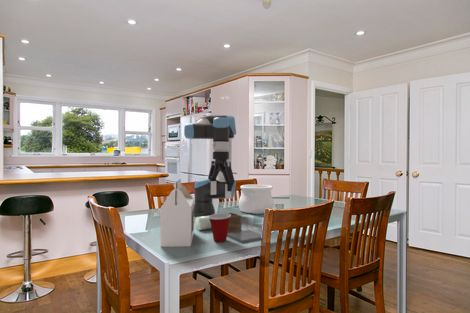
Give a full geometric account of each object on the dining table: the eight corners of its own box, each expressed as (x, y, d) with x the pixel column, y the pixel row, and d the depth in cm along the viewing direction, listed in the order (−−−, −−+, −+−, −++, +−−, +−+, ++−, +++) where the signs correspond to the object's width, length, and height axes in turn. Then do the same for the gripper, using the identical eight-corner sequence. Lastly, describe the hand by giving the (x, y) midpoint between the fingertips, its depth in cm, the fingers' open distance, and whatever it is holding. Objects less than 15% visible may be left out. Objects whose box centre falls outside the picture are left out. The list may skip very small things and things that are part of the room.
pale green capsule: (202, 226, 160) (198, 214, 164) (197, 232, 165) (194, 221, 168) (217, 224, 165) (213, 212, 169) (212, 230, 170) (208, 219, 173)
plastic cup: (208, 237, 151) (208, 212, 151) (230, 237, 152) (230, 212, 151) (207, 244, 140) (207, 217, 140) (231, 243, 141) (231, 217, 141)
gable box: (167, 233, 158) (168, 178, 157) (194, 233, 159) (194, 178, 158) (160, 247, 136) (160, 183, 135) (190, 246, 136) (191, 183, 136)
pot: (241, 207, 232) (241, 183, 231) (274, 208, 228) (274, 184, 228) (236, 214, 206) (236, 187, 206) (273, 215, 203) (273, 188, 202)
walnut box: (218, 229, 167) (218, 214, 166) (232, 227, 171) (232, 212, 171) (226, 233, 159) (227, 217, 159) (241, 230, 164) (241, 215, 164)
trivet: (226, 235, 154) (226, 233, 154) (249, 231, 162) (249, 229, 162) (241, 243, 142) (241, 240, 142) (265, 238, 150) (265, 236, 150)
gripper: (201, 150, 153) (201, 193, 154) (228, 151, 132) (227, 200, 133) (214, 150, 157) (214, 192, 158) (242, 151, 136) (242, 199, 137)
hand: (220, 196), depth 145 cm, fingers open, 13 cm apart
